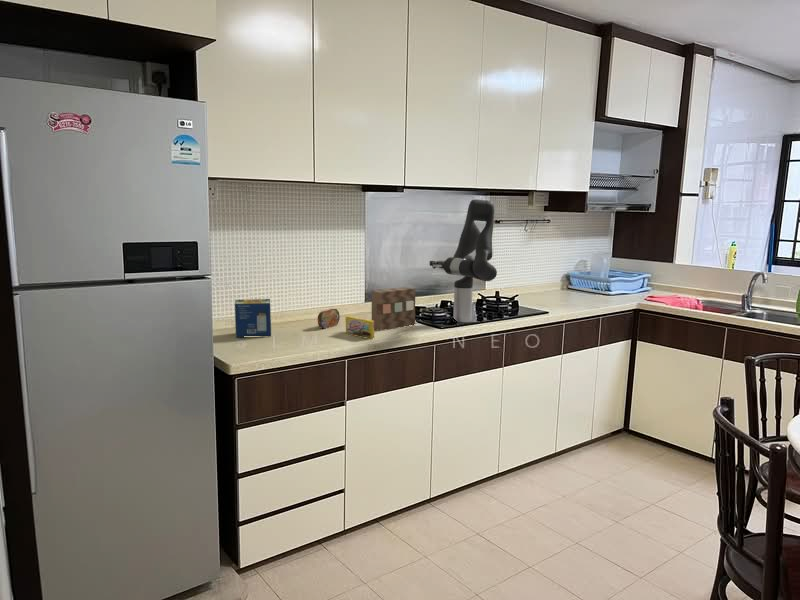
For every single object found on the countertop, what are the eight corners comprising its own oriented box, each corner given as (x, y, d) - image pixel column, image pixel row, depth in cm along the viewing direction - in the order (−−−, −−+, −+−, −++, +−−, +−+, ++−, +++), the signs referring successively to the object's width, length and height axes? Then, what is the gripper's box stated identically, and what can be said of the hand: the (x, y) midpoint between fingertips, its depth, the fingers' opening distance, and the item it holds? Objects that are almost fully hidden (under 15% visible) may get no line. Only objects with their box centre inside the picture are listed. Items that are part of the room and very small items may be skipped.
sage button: (398, 310, 284) (398, 301, 283) (402, 311, 281) (402, 302, 280) (391, 311, 281) (391, 302, 280) (394, 312, 278) (395, 303, 278)
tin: (321, 330, 275) (321, 312, 274) (316, 329, 277) (316, 311, 275) (340, 324, 288) (340, 307, 287) (335, 323, 290) (334, 306, 288)
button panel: (405, 322, 293) (406, 286, 290) (414, 325, 288) (415, 288, 285) (371, 328, 280) (371, 290, 277) (380, 330, 275) (380, 292, 272)
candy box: (345, 334, 268) (345, 316, 267) (348, 333, 270) (348, 315, 268) (371, 339, 258) (371, 321, 256) (374, 338, 259) (374, 320, 258)
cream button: (409, 308, 288) (409, 299, 287) (413, 309, 285) (413, 300, 285) (402, 309, 285) (402, 300, 284) (406, 310, 283) (406, 301, 282)
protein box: (236, 333, 268) (235, 299, 265) (271, 331, 271) (270, 298, 268) (235, 338, 258) (234, 303, 255) (271, 337, 261) (270, 302, 258)
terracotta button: (386, 312, 279) (386, 302, 278) (390, 312, 277) (390, 303, 276) (379, 313, 277) (379, 303, 276) (383, 314, 274) (383, 304, 273)
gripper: (468, 257, 258) (441, 254, 272) (446, 258, 250) (419, 255, 263) (467, 274, 259) (441, 270, 273) (445, 276, 251) (419, 272, 265)
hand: (430, 263), depth 268 cm, fingers closed
